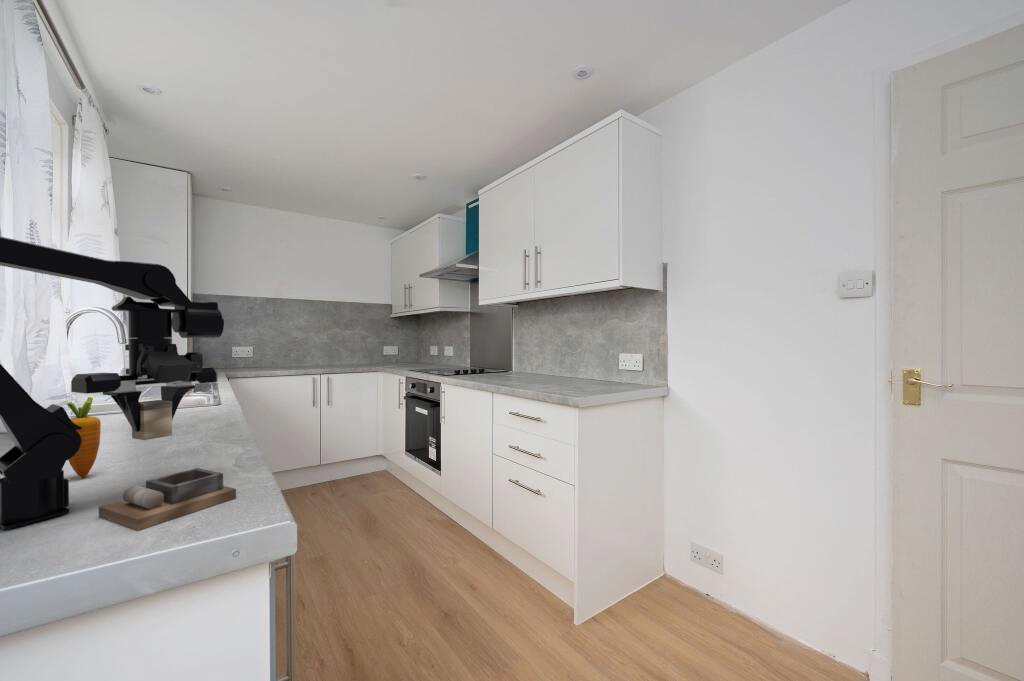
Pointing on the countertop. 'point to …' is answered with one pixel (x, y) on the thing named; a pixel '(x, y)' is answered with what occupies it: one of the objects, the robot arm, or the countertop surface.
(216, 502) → the base
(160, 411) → the beige banded block
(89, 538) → the countertop surface
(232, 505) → the countertop surface
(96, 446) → the carrot
